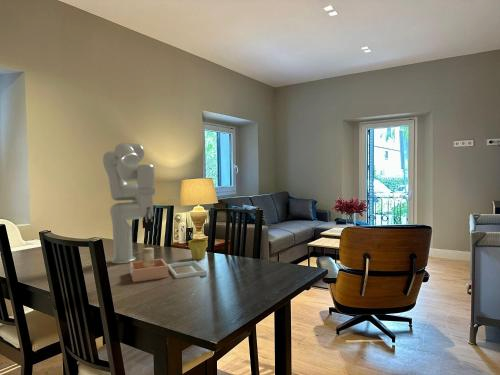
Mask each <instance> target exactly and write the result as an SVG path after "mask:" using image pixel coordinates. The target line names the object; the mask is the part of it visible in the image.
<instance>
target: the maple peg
mask: <svg viewBox="0 0 500 375" xmlns="http://www.w3.org/2000/svg"><path fill="white" fill-rule="evenodd" d="M141 256H142V261H143V269H144V268H151V267H154V259H155V248H154V247H145V248H142V255H141Z"/></svg>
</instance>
